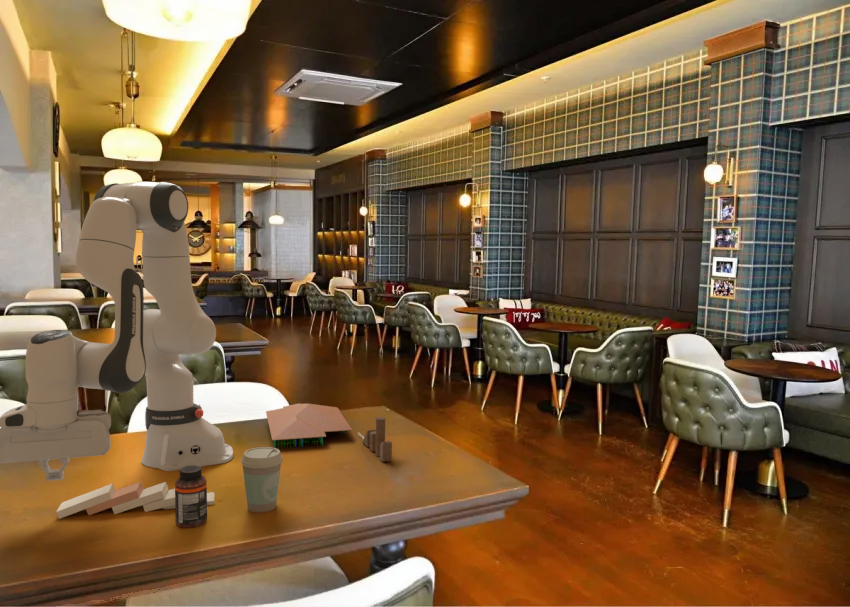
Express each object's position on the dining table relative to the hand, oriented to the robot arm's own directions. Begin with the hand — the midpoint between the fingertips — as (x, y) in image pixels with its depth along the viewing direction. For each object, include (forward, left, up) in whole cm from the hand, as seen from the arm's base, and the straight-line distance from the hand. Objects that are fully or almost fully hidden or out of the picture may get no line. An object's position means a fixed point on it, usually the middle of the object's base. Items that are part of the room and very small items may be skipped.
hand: (55, 479), depth 126 cm
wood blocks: (-72, -26, -8) cm, 77 cm away
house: (-57, -47, -8) cm, 74 cm away
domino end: (-1, 0, -7) cm, 7 cm away
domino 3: (-17, +1, -7) cm, 18 cm away
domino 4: (-20, 0, -8) cm, 22 cm away
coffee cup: (-40, +7, -8) cm, 41 cm away
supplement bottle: (-26, +11, -8) cm, 29 cm away
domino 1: (-6, -1, -7) cm, 9 cm away
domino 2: (-11, 0, -7) cm, 13 cm away
